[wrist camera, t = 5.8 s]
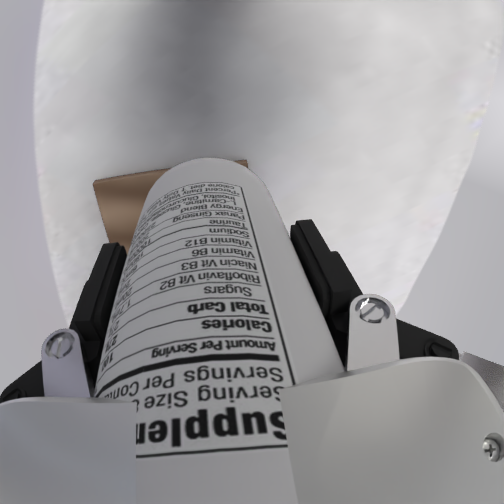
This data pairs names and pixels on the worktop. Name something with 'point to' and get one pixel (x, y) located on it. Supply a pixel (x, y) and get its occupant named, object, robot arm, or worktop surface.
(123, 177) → the ring stand
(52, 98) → the worktop surface
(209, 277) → the energy drink can
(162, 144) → the worktop surface
